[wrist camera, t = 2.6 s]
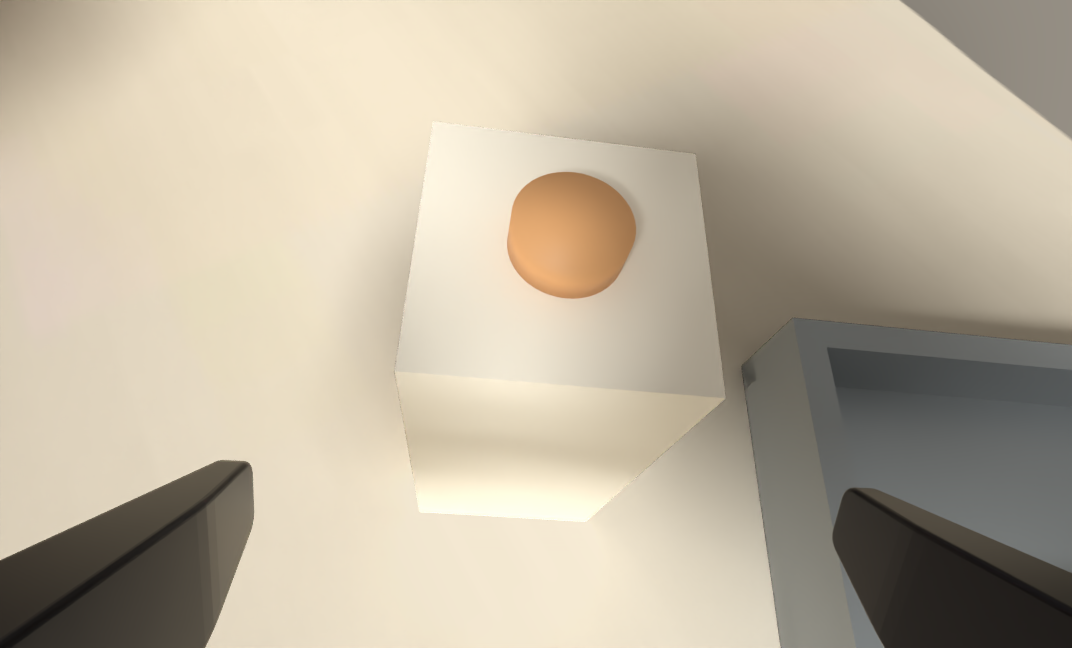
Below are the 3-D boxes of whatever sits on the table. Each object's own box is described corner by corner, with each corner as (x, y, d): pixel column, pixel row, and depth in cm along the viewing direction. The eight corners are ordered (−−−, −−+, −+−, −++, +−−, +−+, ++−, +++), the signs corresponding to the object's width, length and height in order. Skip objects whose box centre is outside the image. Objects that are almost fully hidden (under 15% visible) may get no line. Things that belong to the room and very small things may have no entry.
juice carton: (586, 521, 20) (746, 380, 10) (419, 511, 20) (390, 349, 9) (584, 370, 23) (710, 125, 12) (437, 358, 22) (432, 89, 12)
